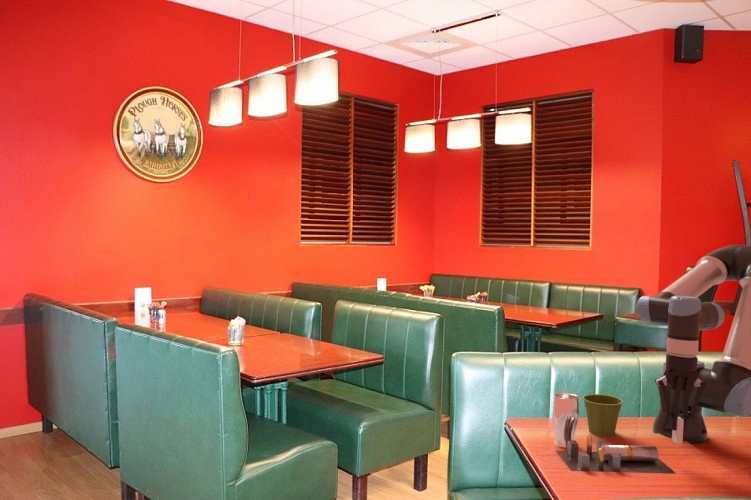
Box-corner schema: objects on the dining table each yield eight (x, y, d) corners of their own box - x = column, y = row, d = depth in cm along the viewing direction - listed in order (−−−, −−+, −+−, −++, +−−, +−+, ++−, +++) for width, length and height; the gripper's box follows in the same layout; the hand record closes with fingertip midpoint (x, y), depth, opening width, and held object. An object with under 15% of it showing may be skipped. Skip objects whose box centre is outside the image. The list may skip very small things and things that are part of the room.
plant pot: (612, 429, 195) (613, 393, 195) (628, 442, 183) (630, 405, 183) (575, 428, 195) (576, 393, 194) (589, 441, 183) (590, 404, 182)
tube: (653, 462, 167) (650, 447, 168) (659, 460, 163) (656, 445, 165) (601, 461, 167) (599, 445, 169) (606, 459, 163) (604, 443, 165)
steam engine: (652, 456, 172) (652, 435, 172) (676, 477, 158) (677, 454, 158) (555, 454, 172) (556, 433, 172) (571, 474, 158) (571, 451, 158)
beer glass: (578, 452, 174) (580, 400, 173) (552, 450, 175) (554, 398, 174) (575, 444, 180) (577, 393, 180) (551, 442, 182) (552, 391, 181)
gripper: (699, 352, 167) (694, 438, 168) (651, 350, 167) (646, 436, 168) (714, 358, 160) (709, 448, 161) (664, 356, 160) (659, 446, 161)
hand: (677, 442), depth 164 cm, fingers closed
